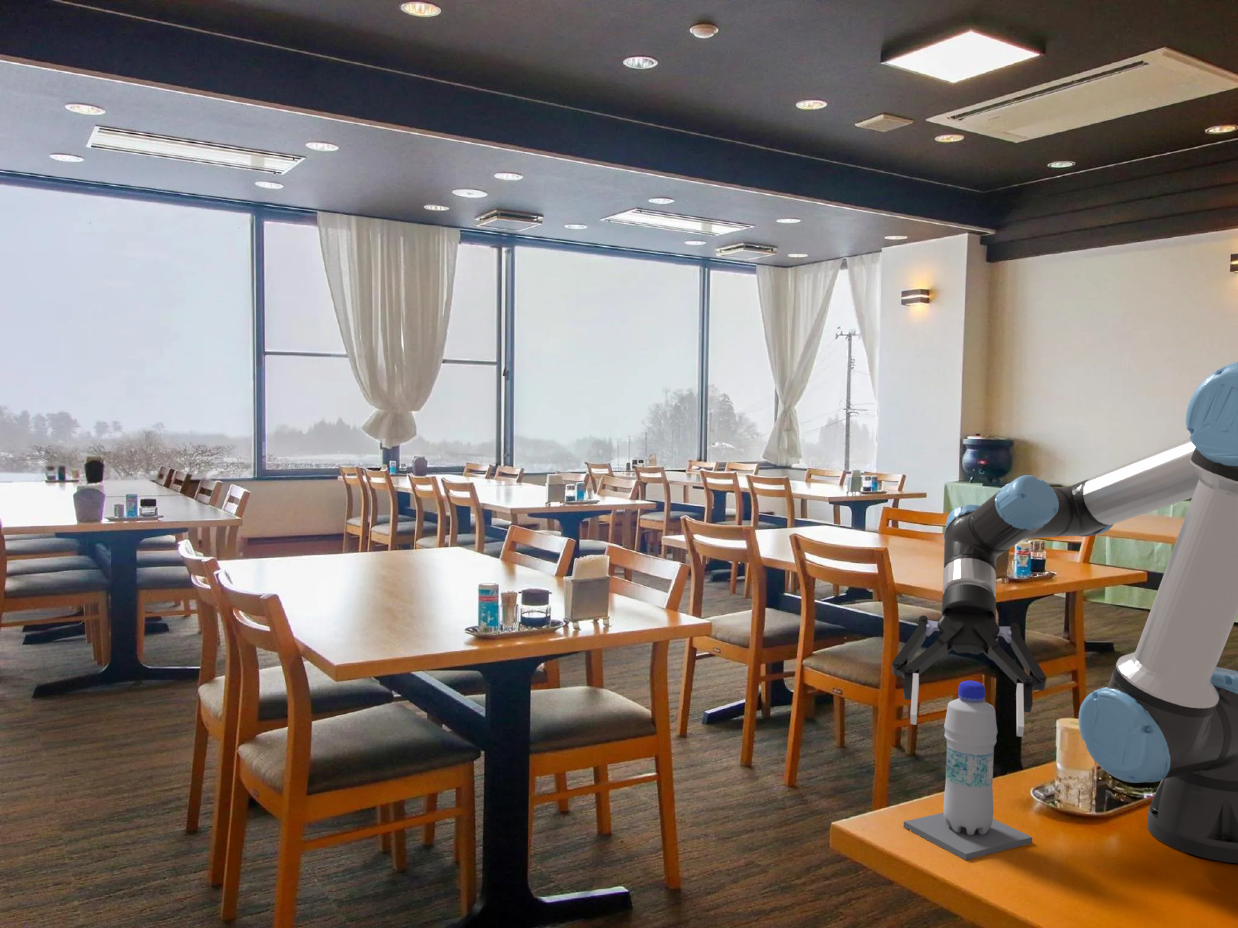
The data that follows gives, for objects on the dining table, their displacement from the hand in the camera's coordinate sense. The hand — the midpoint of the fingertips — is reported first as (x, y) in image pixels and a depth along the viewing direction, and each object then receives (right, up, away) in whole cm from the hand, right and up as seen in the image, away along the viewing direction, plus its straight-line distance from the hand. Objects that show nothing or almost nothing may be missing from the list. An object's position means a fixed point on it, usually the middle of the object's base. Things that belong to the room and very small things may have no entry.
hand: (965, 725), depth 131 cm
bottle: (0, -14, -1) cm, 14 cm away
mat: (0, -14, -1) cm, 14 cm away
